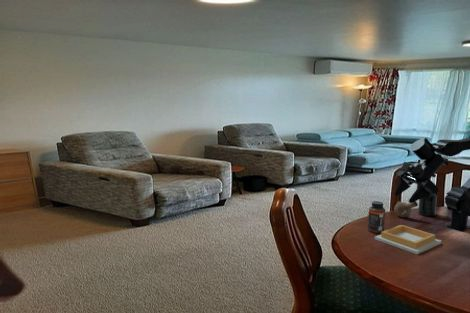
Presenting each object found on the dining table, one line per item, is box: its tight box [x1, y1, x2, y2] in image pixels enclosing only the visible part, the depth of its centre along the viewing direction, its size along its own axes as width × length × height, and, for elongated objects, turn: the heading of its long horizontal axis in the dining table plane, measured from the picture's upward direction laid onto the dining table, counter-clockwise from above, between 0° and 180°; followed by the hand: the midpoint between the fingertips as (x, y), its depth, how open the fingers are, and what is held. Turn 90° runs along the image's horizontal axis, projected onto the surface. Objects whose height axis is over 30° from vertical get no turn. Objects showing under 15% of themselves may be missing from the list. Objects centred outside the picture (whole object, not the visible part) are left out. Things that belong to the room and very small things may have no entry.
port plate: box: [374, 224, 442, 255], centre depth 137 cm, size 16×16×3 cm
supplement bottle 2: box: [417, 194, 438, 217], centre depth 167 cm, size 7×7×12 cm
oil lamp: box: [393, 200, 419, 218], centre depth 163 cm, size 9×4×8 cm, turn 60°
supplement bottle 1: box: [367, 200, 386, 234], centre depth 147 cm, size 6×6×11 cm
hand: (402, 198), depth 146 cm, fingers open, 9 cm apart
